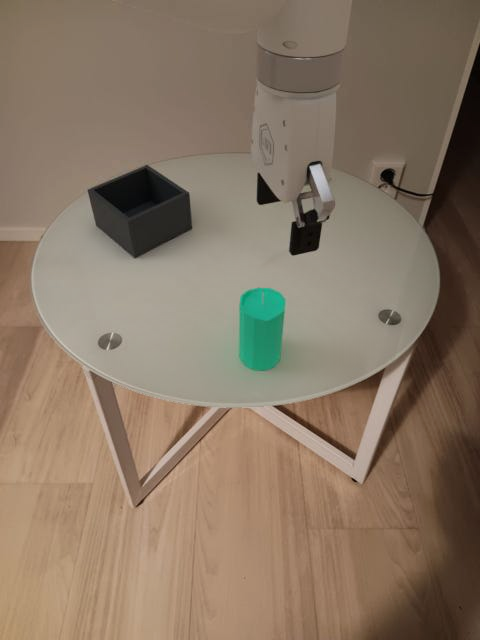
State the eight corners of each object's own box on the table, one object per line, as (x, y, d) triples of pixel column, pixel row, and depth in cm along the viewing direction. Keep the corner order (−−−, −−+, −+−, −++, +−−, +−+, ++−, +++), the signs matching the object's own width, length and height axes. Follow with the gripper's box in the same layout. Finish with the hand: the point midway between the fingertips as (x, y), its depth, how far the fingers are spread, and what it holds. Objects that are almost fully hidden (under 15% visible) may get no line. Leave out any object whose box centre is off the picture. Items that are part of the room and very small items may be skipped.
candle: (232, 363, 72) (231, 302, 63) (248, 333, 75) (249, 272, 67) (272, 376, 70) (277, 316, 61) (286, 345, 74) (293, 284, 65)
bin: (134, 258, 87) (127, 221, 82) (95, 225, 94) (87, 189, 88) (192, 228, 93) (189, 192, 87) (152, 199, 99) (147, 164, 94)
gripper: (228, 37, 49) (229, 190, 62) (299, 113, 38) (284, 282, 51) (299, 29, 51) (286, 180, 63) (388, 99, 40) (351, 266, 52)
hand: (285, 225), depth 57 cm, fingers open, 9 cm apart
